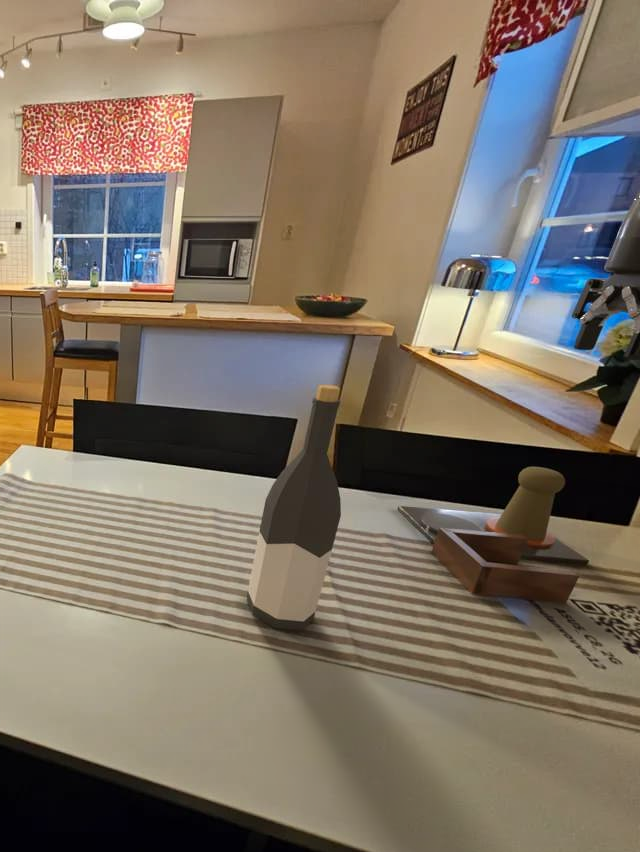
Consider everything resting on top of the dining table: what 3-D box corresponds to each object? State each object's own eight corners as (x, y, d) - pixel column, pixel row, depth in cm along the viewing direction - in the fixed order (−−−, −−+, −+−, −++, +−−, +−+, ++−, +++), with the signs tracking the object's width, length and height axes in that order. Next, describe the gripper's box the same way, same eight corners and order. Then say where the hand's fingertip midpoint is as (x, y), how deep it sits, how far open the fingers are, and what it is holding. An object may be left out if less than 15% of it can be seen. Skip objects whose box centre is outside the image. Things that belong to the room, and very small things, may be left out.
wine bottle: (314, 603, 66) (372, 383, 55) (311, 641, 59) (374, 400, 48) (250, 584, 69) (292, 375, 58) (240, 617, 63) (284, 389, 52)
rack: (511, 560, 75) (522, 534, 74) (566, 603, 66) (579, 575, 64) (430, 552, 77) (439, 527, 76) (471, 593, 68) (482, 566, 66)
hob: (521, 519, 87) (523, 513, 87) (587, 564, 74) (591, 557, 74) (397, 509, 90) (399, 503, 90) (439, 550, 78) (442, 543, 77)
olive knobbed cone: (509, 537, 79) (535, 475, 75) (487, 519, 84) (510, 460, 80) (554, 542, 78) (583, 479, 74) (529, 524, 83) (554, 464, 79)
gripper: (751, 232, 60) (686, 365, 65) (641, 237, 73) (595, 347, 79) (677, 232, 61) (620, 362, 67) (582, 237, 74) (541, 345, 80)
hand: (606, 354), depth 73 cm, fingers open, 8 cm apart
